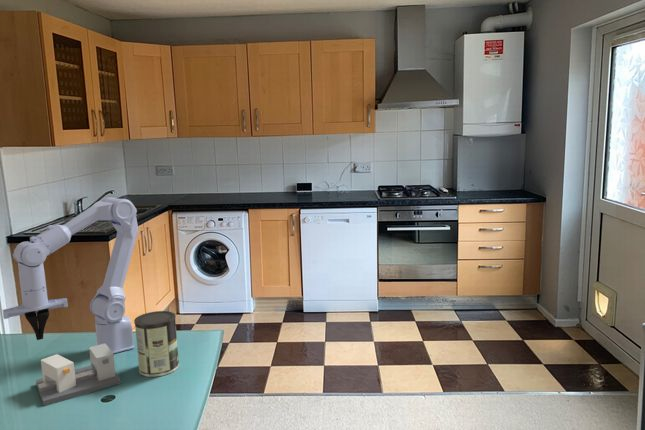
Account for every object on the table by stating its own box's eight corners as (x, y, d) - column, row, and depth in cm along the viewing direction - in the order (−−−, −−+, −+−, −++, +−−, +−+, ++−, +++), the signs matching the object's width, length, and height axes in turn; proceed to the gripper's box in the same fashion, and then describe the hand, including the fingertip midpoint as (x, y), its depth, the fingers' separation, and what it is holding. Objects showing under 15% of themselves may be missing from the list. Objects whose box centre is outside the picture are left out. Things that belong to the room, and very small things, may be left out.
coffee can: (166, 356, 143) (162, 307, 140) (186, 367, 136) (183, 316, 133) (131, 369, 135) (126, 318, 133) (151, 381, 128) (146, 327, 126)
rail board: (107, 365, 138) (105, 340, 137) (120, 383, 127) (117, 356, 126) (36, 384, 128) (33, 357, 127) (43, 405, 118) (40, 376, 117)
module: (59, 376, 130) (57, 354, 129) (77, 386, 124) (74, 363, 123) (43, 382, 126) (40, 359, 126) (60, 393, 121) (58, 369, 120)
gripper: (62, 279, 139) (67, 327, 141) (-1, 290, 130) (6, 340, 132) (66, 285, 133) (72, 335, 135) (1, 296, 125) (8, 349, 127)
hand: (39, 338), depth 133 cm, fingers closed
